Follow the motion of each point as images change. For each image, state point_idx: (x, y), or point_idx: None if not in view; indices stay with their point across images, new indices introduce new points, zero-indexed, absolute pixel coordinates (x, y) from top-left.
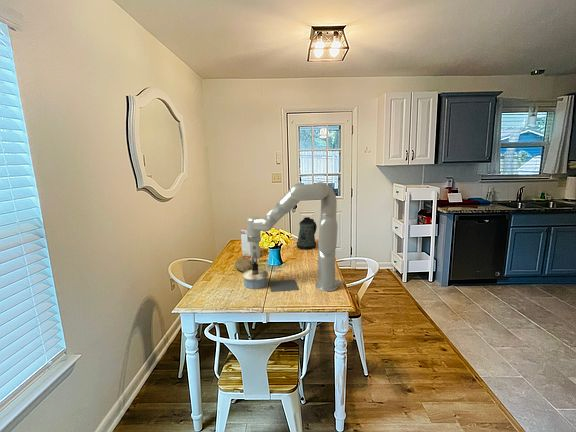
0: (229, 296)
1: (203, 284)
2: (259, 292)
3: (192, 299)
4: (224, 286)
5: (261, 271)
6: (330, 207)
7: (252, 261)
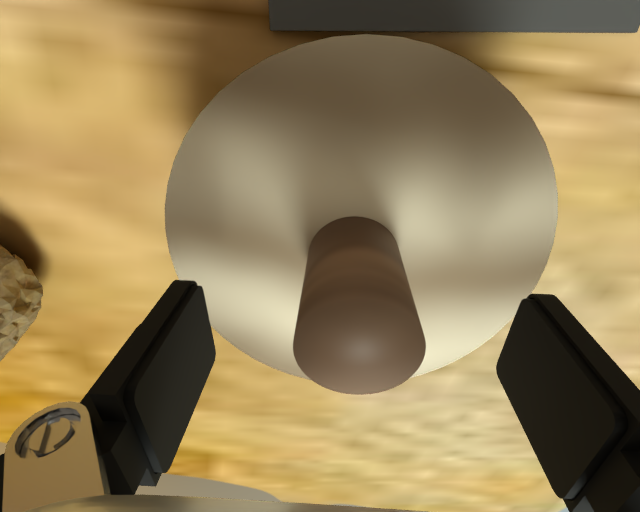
0: None
1: (269, 474)
2: None
3: (460, 503)
4: (321, 398)
5: (262, 160)
6: None
7: (191, 409)
